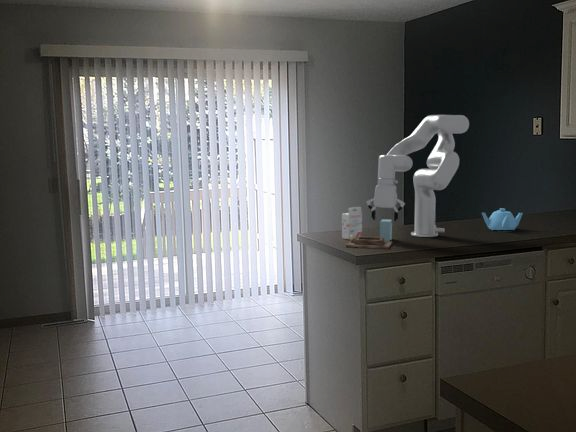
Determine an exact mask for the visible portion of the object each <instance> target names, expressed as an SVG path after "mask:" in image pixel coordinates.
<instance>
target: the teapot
mask: <svg viewBox="0 0 576 432" xmlns="http://www.w3.org/2000/svg"><path fill="white" fill-rule="evenodd" d="M481 215H482V217H483V219H484V223H485V225H486V226H487V228H488V229H489V230H490V229H491V231H493V230H513V231H515V230H516V229H517V227H518V226H519V224H520V222H521V218H522V216H523V212H518V214H517V215H516V216H514V215H513V213H512V212H511V211H506V208H503V207H502V208H501V207H500V208H499V210H496V211H493V212H492V213H491V215H490V216H489V217H488V216H487V214H486V212H481Z"/></svg>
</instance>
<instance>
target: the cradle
mask: <svg viewBox="0 0 576 432" xmlns="http://www.w3.org/2000/svg"><path fill="white" fill-rule="evenodd" d="M392 245H393V241H392V240H391V241H384V237H380V236H363V235H362V236H358V237H357V238H355V239H354V235H351V236H350V239H349V242H348V243H346V244H345V248H354V247H358V248H361V249H377V250H378V249H382V250H388V249H390V248H391V246H392Z"/></svg>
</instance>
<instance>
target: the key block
mask: <svg viewBox="0 0 576 432" xmlns="http://www.w3.org/2000/svg"><path fill="white" fill-rule="evenodd" d="M392 234H393V219H385V218H384V219H381V220H380V221H379V237H384V241H390V240H391V241H392V239H393V235H392Z"/></svg>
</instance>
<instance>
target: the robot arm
mask: <svg viewBox="0 0 576 432" xmlns="http://www.w3.org/2000/svg"><path fill="white" fill-rule="evenodd" d="M469 127H470V121H469V119H468V117H466V116H465V115H462V114H456V115H455V114H429V115H426V117H424V118H423V119H422V120H421V122H420V123H419V124H418V125H417V127H416V128H415V129H414V130H413V131H412V133H411V134H410V135H409V136H407V137H405V138H404V139H402V140H401V141H399V142H397V143H396V144H395V145H394V146H393V147H392V148H391V149H390V150H389V151H388V152H387V154H381V155H379V156H378V167H377V184H376V185H375V189H374V196H373V198H370V199H368V200H366V201H365V202H366V205H367V207H368V209H369V210H370V211H371V218H372V221H376V209H377V208H381V209H382V208H384V209H386V208H387V209H393V210H394V213H393V214H394V217H393V221H394V222H396V221H397V220H398V219H399V212H400V211H401V210H402V209H403V207H404V206H405V205H406V203H405V202H404V201H403V200H401V199H399V198H398V190H397V186H396V184H398V183H399V180H397V179H396V172H401V173H402V172H403V173H404V172H407V171H409V170H411V168H412V167H413V165H414V164H413V159H412V158H411V157H410V156H409V155H410V154H412V153H414V152H418V151H420V150H422V149H424V148H425V147H426V146H427V144H428V143H429V142H430V141H431V139H432V138H433V137H434V136H435V135H437V136H438V137H437V142H436V144H435V145H434V147H433V149H432V150H431V152H430V154H429V155H428V157H427V160H426V165H427V166H426V167H428V168H419V169H417V170H416V171H415V172H414V174H413V177H412V179H413V181H412V182H413V187H414V231H411V232H410V235H411V236H413V237H418V238H419V237H420V238H434V237H438V236H439V233H445V228H444V227H442V228H441V227H437V225H436V203H437V201H436V194H435V192H434V191H442V190H444V189H446V188H447V186H448V185H449V184H450V182H451V181H452V179H453V177H454V176H455V174H456V173H457V170H458V169H459V166H460V157H459V155H458V153H457V152H456V151H454V150H455V146H456V145H455V144H456V142H455V138H454V135H453V134H463V133H466V132H467V131H468V129H469ZM372 202H373V206H372V205H371V203H372ZM398 204H400V206H399V207H397V205H398Z"/></svg>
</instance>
